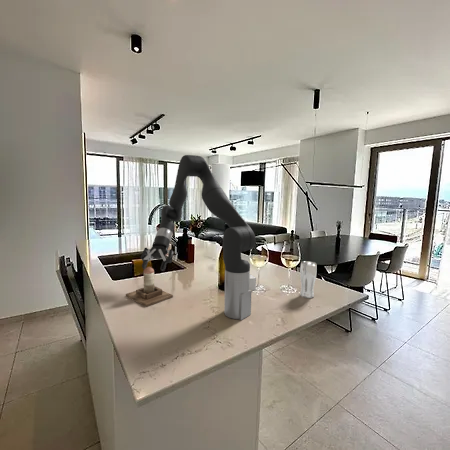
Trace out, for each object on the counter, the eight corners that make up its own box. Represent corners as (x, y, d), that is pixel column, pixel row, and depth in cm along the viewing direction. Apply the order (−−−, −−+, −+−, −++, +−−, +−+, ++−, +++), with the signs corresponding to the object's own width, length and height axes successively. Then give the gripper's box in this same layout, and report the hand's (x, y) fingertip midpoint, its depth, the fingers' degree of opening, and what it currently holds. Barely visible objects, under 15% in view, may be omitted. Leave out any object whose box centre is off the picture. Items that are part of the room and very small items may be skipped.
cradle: (172, 297, 112) (172, 290, 112) (146, 307, 103) (146, 299, 102) (151, 288, 123) (151, 281, 122) (125, 296, 113) (125, 289, 113)
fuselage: (156, 294, 113) (156, 267, 111) (147, 297, 110) (147, 269, 108) (150, 291, 116) (150, 265, 114) (142, 294, 112) (141, 267, 111)
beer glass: (314, 293, 119) (316, 261, 117) (315, 299, 112) (317, 266, 110) (298, 291, 121) (300, 260, 119) (298, 297, 114) (300, 264, 112)
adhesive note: (255, 290, 122) (256, 277, 122) (244, 291, 120) (244, 279, 119) (250, 285, 128) (250, 274, 127) (239, 287, 126) (239, 275, 125)
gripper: (146, 234, 123) (134, 264, 114) (174, 235, 121) (165, 266, 111) (151, 243, 129) (140, 272, 119) (178, 244, 127) (170, 274, 117)
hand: (152, 269), depth 115 cm, fingers open, 8 cm apart
